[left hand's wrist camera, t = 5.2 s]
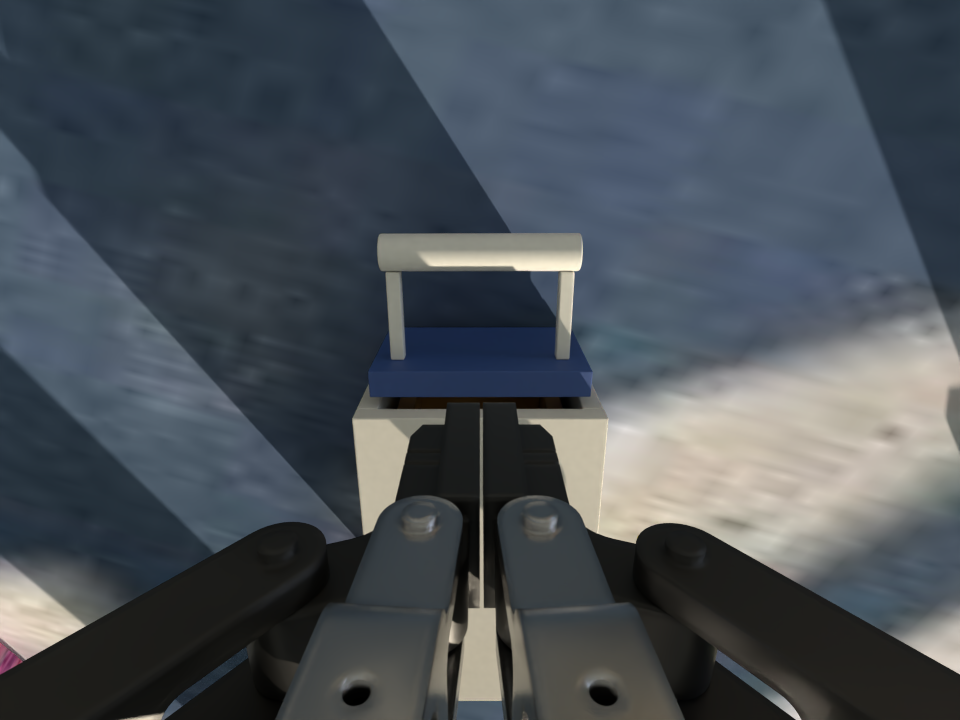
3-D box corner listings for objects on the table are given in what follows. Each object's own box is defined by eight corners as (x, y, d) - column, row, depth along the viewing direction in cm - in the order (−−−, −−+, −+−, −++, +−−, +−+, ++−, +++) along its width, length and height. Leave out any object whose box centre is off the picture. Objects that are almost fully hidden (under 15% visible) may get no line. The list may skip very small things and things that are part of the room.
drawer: (383, 220, 27) (356, 239, 21) (577, 219, 27) (602, 239, 21) (404, 561, 34) (389, 643, 29) (556, 561, 34) (571, 643, 29)
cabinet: (383, 351, 31) (351, 418, 23) (577, 351, 30) (609, 417, 23) (399, 586, 36) (378, 701, 29) (562, 586, 36) (583, 701, 29)
